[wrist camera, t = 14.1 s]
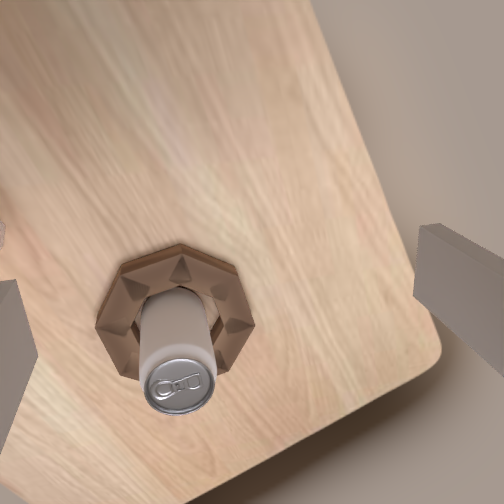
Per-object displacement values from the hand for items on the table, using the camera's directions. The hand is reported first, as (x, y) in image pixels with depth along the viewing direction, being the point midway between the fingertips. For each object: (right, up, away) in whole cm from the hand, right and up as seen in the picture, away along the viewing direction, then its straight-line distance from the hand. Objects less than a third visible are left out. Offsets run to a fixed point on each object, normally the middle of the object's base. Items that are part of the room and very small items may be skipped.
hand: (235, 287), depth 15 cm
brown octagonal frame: (-7, -5, +32) cm, 34 cm away
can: (-8, -5, +32) cm, 34 cm away
